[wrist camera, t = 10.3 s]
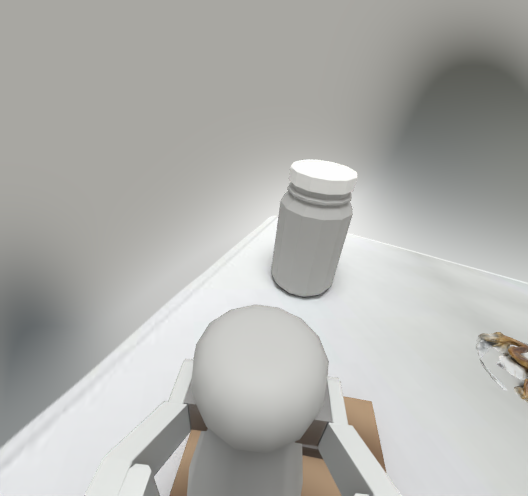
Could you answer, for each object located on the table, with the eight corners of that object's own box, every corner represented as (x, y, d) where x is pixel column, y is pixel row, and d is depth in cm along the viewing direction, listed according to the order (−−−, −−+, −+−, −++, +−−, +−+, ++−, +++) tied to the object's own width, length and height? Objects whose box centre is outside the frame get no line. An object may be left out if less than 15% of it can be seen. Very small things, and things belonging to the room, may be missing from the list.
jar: (324, 263, 47) (351, 161, 38) (337, 303, 39) (376, 185, 29) (269, 259, 47) (283, 154, 37) (271, 298, 39) (288, 176, 29)
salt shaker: (219, 419, 18) (218, 263, 11) (302, 453, 17) (362, 302, 10) (167, 540, 13) (108, 400, 6) (279, 599, 12) (362, 508, 5)
